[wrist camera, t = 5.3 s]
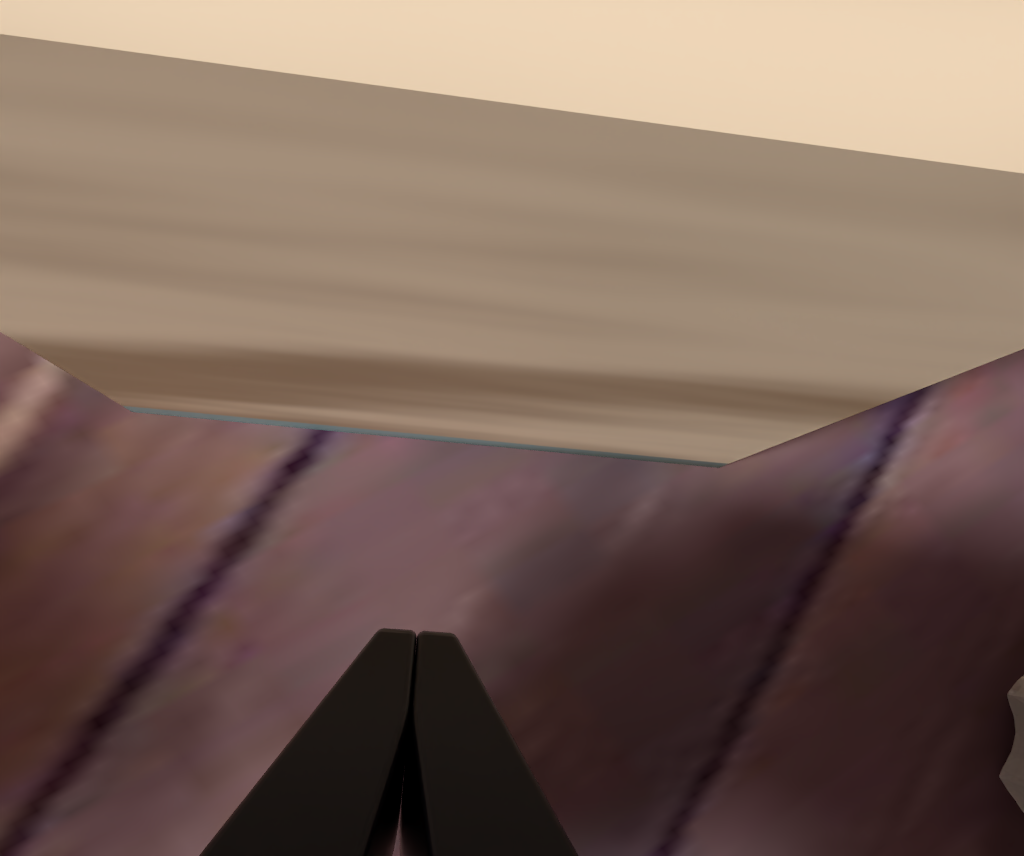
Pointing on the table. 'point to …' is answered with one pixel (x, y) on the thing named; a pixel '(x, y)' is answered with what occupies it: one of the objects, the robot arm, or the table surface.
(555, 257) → the birch block
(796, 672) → the table surface
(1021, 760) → the egg carton
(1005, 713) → the table surface
